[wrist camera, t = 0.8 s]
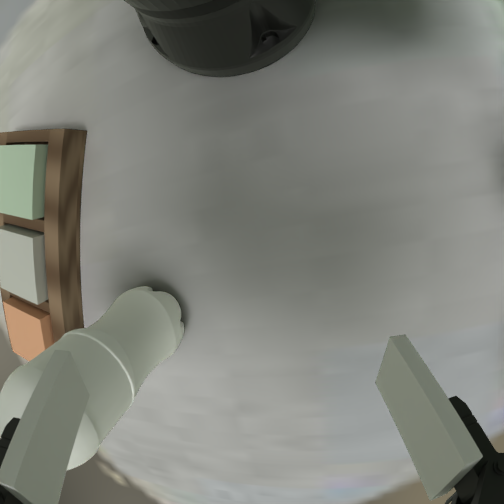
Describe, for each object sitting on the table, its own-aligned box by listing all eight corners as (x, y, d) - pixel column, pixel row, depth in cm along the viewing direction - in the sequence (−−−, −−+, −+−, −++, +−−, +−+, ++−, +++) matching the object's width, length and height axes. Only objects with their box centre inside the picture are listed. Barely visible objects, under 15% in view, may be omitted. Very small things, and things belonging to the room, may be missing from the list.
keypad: (18, 133, 30) (-2, 132, 26) (87, 130, 28) (64, 128, 24) (27, 339, 37) (12, 349, 34) (88, 369, 35) (73, 383, 32)
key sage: (15, 145, 28) (-3, 145, 25) (55, 144, 26) (35, 144, 24) (12, 207, 29) (-5, 211, 27) (50, 215, 28) (32, 219, 26)
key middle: (12, 222, 30) (-5, 227, 27) (50, 232, 29) (32, 238, 26) (16, 280, 32) (0, 287, 29) (54, 295, 31) (37, 304, 28)
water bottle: (198, 346, 31) (49, 561, 7) (136, 343, 33) (-23, 506, 9) (184, 277, 29) (-38, 475, 6) (121, 280, 31) (-87, 419, 7)
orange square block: (18, 293, 32) (3, 301, 30) (55, 310, 31) (39, 319, 29) (26, 342, 34) (13, 351, 32) (63, 361, 33) (49, 372, 31)
